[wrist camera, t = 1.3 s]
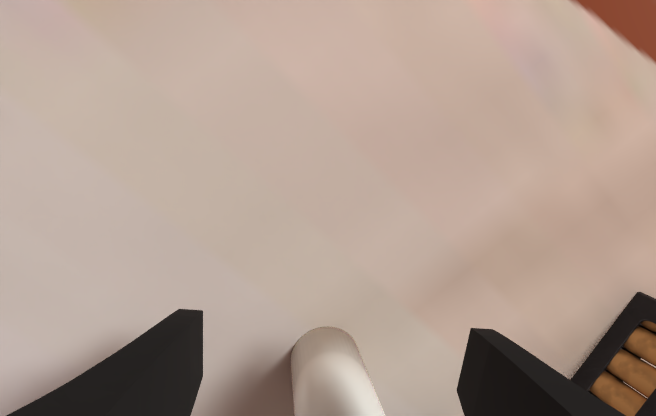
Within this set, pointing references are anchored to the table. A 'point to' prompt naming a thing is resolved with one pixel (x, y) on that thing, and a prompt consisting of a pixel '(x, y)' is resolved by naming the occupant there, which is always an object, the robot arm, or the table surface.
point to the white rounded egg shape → (331, 376)
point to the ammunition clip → (625, 361)
